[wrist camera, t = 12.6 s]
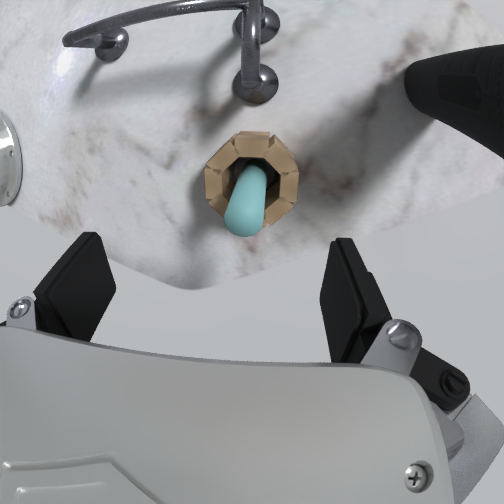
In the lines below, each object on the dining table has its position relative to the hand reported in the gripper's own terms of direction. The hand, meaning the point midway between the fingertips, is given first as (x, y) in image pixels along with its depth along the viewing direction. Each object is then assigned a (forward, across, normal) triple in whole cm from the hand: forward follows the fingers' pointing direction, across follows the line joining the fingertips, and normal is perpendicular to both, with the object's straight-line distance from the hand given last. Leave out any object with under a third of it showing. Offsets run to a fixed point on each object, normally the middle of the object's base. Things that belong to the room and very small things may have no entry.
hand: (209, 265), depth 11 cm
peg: (+13, -2, 0) cm, 13 cm away
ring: (+13, -1, 0) cm, 13 cm away
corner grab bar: (+13, +5, -9) cm, 17 cm away
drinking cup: (+13, -16, -9) cm, 22 cm away
